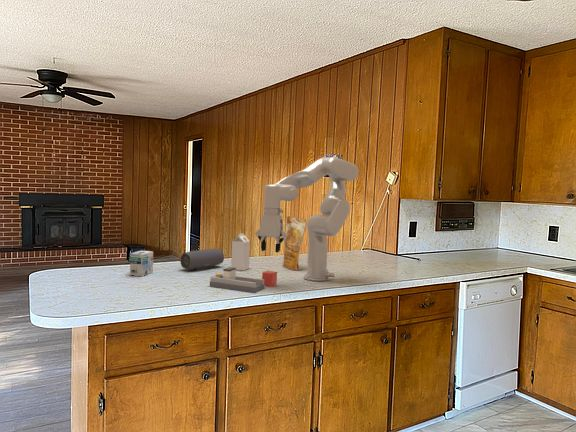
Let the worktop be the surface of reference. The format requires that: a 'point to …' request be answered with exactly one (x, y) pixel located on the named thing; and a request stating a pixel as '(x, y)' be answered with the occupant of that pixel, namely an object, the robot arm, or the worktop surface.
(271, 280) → the block
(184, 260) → the bluetooth speaker
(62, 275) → the worktop surface
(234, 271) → the breaker lever
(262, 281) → the gray rectangular tray
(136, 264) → the light bulb box
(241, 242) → the milk carton
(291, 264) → the pancake mix bag
